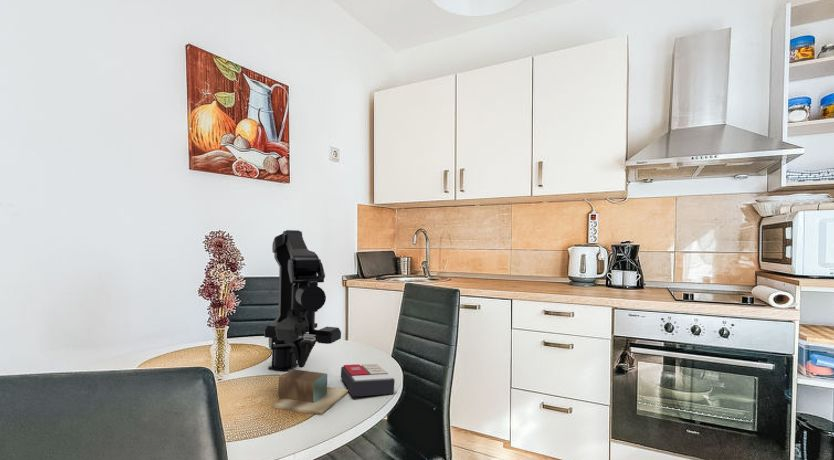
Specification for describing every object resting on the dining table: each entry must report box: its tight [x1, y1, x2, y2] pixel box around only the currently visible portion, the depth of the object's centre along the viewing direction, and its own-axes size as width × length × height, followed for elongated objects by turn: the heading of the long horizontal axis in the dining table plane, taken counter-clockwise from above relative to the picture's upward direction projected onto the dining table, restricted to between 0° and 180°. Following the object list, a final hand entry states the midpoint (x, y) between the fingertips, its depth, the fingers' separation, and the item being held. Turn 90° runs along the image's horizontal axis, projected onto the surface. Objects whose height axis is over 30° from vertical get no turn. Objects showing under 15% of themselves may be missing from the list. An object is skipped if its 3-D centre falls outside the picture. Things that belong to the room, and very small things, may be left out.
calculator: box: [340, 363, 395, 398], centre depth 104 cm, size 11×4×15 cm
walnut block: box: [277, 368, 328, 403], centre depth 96 cm, size 5×6×10 cm
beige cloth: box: [271, 386, 350, 416], centre depth 95 cm, size 13×14×1 cm
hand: (301, 367), depth 96 cm, fingers closed
